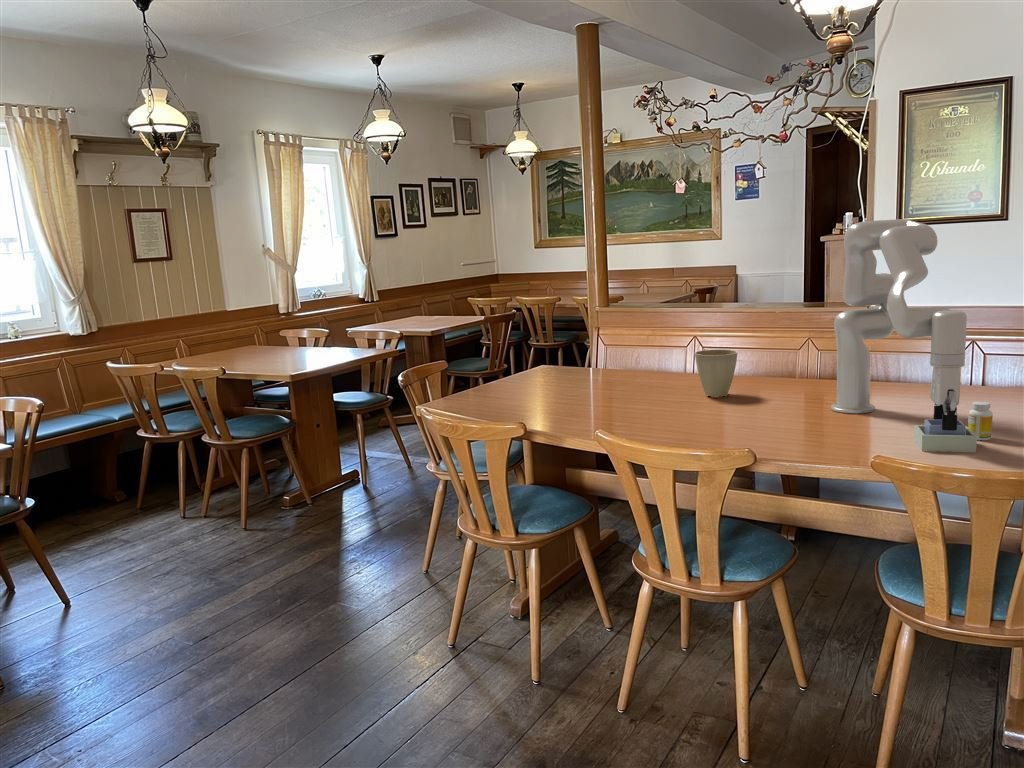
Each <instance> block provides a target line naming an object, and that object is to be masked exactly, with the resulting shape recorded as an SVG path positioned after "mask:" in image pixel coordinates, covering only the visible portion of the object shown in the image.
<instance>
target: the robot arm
mask: <svg viewBox="0 0 1024 768" xmlns="http://www.w3.org/2000/svg"><path fill="white" fill-rule="evenodd" d="M938 241H939V240H938V235H937V233H936V231H935V229H934V228H933V227H931V226H930V225H928V224H926V223H922V222H918V221H914V220H911V219H907V218H906V219H905V218H901V219H900V218H899V219H898V218H896V219H882V220H881V219H878V220H877V219H876V220H867V221H865V220H864V221H860V222H856V223H853V224H852V225H850V226H849V227H848V228H847V229H846V232H845V233H844V237H843V249H844V254H845V268H844V269H845V270H844V277H843V278H844V279H843V288H842V300H843V302H844V303H845V304H846V305H848V306H851V307H867V306H869V307H870V306H874V308H873V307H872V308H857V309H849V310H844V311H842V312H840V313H838V314H837V315H836V316H835V318H834V322H833V329H834V330H833V331H834V335H835V340H836V402H833V403H832V404H831V406H830V408H831V410H832V411H834V412H837V413H844V414H868V413H872V412H874V411H875V410H876V406H875V405H874V404H871V403H870V396H871V395H870V394H871V393H870V392H871V389H870V388H871V386H870V385H871V353H870V350H869V348H868V347H867V346H866V344H865V343H864V341H867V340H877V339H885V338H888V337H890V336H891V335H892V334H893V332H894V330H895V332H896V333H897V335H899V336H900V337H902V338H907V339H913V338H923V337H925V338H928V337H929V338H930V339H931V340H930V364H929V365H930V367H932V373H931V384H930V393H929V395H930V396H929V397H930V399H931V401H932V402H933V403H934V406H933V420H942V430H948V431H956V430H957V420H958V407H957V406H958V405H959V404H960V396H961V395H960V394H961V368H963V367H965V364H966V346H967V345H966V342H967V321H968V319H967V314H966V312H965V311H962V310H956V309H955V310H953V309H950V308H947V307H944V306H935V307H933V306H932V307H920V308H919V307H917V308H909V307H908V305H907V302H906V299H905V291H908V290H909V289H912V288H913V287H916V286H918V284H920V283H921V282H923V281H924V280H925V279H926V278H927V277H928V274H929V270H928V266H927V265H926V263H925V260H924V258H923V256H927V255H928V256H929V255H931V254H933V252H935V251H936V249H937V246H938ZM873 251H881V252H882V255H883V257H884V258H883V259H884V261H885V263H886V265H887V267H888V270H889V273H886V272H885V273H883V272H882V273H881V272H880V273H876V272H877V267H878V266H877V265H878V263H877V262H878V261H877V258H876V255H875V254H874V252H873Z"/></svg>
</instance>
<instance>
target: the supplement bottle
mask: <svg viewBox="0 0 1024 768" xmlns="http://www.w3.org/2000/svg"><path fill="white" fill-rule="evenodd" d="M971 406H972V407H971V408H972V409H970V410H969V411H968V419H967V427H968V428H969V429H970V430H971V431H972V432H973V433H974V434H975V435H976V436H977V440H976V441H980V440H982V441H990V440H991V439H992V431H993V418H994V417H993V415H994V414H993V412H992V411H991V410H990V409H991V403H990V402H988V401H979V400H978V401H972V404H971Z"/></svg>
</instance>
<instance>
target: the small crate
mask: <svg viewBox="0 0 1024 768" xmlns="http://www.w3.org/2000/svg"><path fill="white" fill-rule="evenodd" d="M924 426H925V427H924V434H925V435H965V428H966V426H967V425H966V424H964V423H963V422H962V421H961V419H957V430H956V431H948V430H942V420H934V419H925V418H924Z"/></svg>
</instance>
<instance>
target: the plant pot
mask: <svg viewBox="0 0 1024 768" xmlns="http://www.w3.org/2000/svg"><path fill="white" fill-rule="evenodd" d="M694 358H695V364H696V369H697V372H698V376H699V380H700V383H701V386H702V389H703V391H704V394H705V396H706V395H708V396H724V395H727V396H728V395H729V394H728V393H729V391H730V388H731V386H732V383H733V378H734V375H735V372H736V371H735V370H736V366H737V359H738V351H737V350H733V349H705V350H698V351H694ZM708 396H707V397H708Z"/></svg>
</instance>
